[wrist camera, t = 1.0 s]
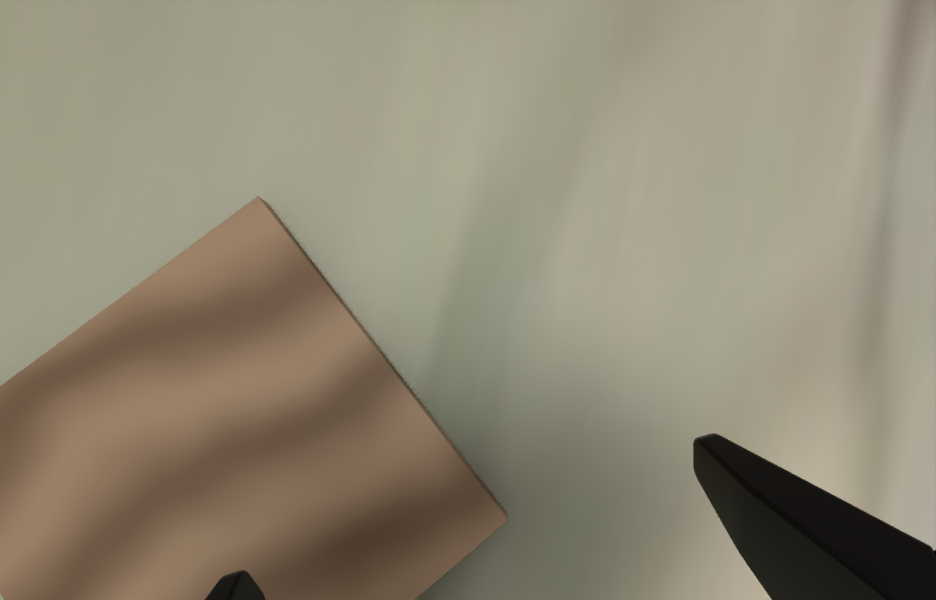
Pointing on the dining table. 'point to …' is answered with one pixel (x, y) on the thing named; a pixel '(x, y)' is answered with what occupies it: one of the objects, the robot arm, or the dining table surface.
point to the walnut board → (228, 444)
